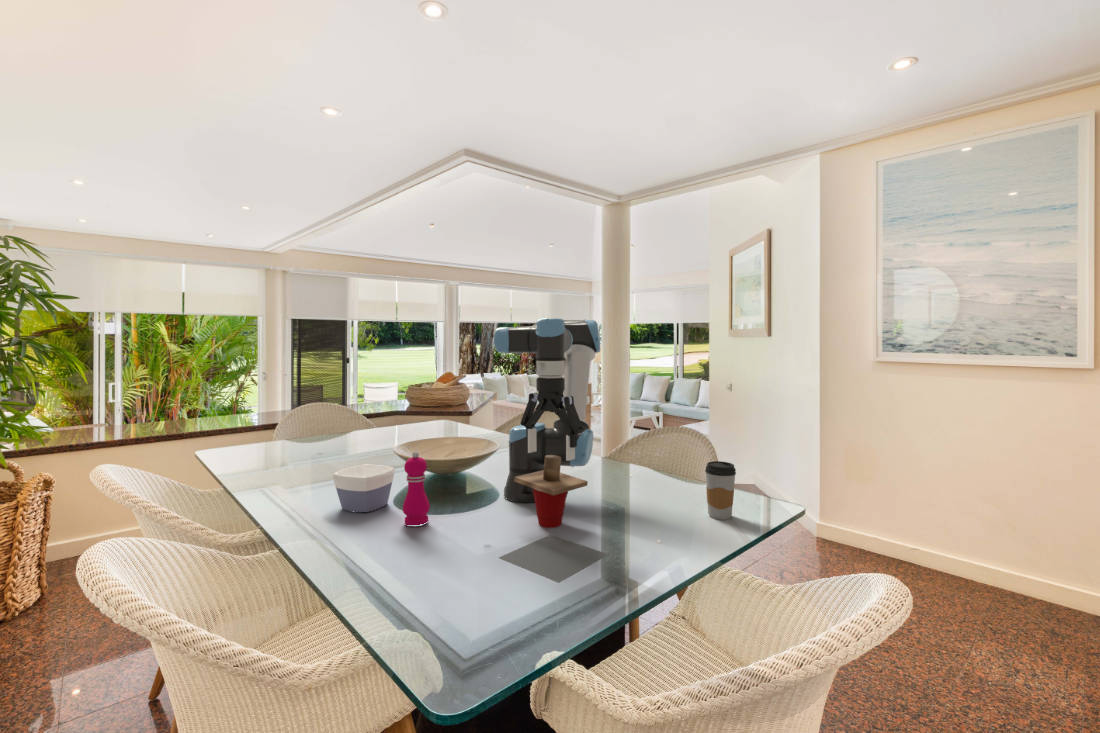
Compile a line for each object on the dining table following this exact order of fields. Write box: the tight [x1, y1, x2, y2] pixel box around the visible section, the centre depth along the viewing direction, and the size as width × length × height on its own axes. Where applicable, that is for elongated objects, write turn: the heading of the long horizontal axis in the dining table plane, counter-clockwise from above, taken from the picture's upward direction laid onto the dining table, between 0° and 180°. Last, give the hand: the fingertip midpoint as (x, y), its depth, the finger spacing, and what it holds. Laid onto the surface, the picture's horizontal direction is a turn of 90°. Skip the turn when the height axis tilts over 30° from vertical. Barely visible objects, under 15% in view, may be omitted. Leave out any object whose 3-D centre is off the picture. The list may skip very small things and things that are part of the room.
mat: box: [498, 534, 609, 583], centre depth 116 cm, size 18×18×1 cm
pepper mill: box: [402, 451, 431, 526], centre depth 139 cm, size 7×7×20 cm
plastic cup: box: [532, 488, 569, 529], centre depth 136 cm, size 11×11×12 cm
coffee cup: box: [704, 460, 737, 521], centre depth 144 cm, size 8×8×15 cm
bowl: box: [332, 464, 396, 513], centre depth 154 cm, size 15×15×11 cm
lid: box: [514, 455, 588, 496], centre depth 136 cm, size 14×14×7 cm
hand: (550, 455), depth 136 cm, fingers open, 13 cm apart
